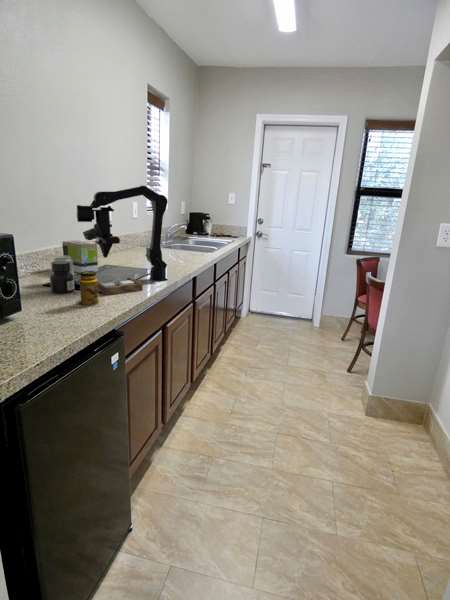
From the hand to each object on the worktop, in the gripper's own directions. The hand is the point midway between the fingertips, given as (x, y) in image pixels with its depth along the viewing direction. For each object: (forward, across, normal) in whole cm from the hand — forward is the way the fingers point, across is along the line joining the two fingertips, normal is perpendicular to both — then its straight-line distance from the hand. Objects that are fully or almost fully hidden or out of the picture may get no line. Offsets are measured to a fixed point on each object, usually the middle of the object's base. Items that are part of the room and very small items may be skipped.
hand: (105, 257), depth 156 cm
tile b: (+12, +13, -5) cm, 18 cm away
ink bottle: (+11, +5, -21) cm, 24 cm away
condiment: (+12, +26, -19) cm, 34 cm away
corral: (+12, +13, -1) cm, 18 cm away
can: (+11, -8, -16) cm, 21 cm away
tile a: (+12, +13, +3) cm, 18 cm away
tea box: (+12, -30, 0) cm, 32 cm away
